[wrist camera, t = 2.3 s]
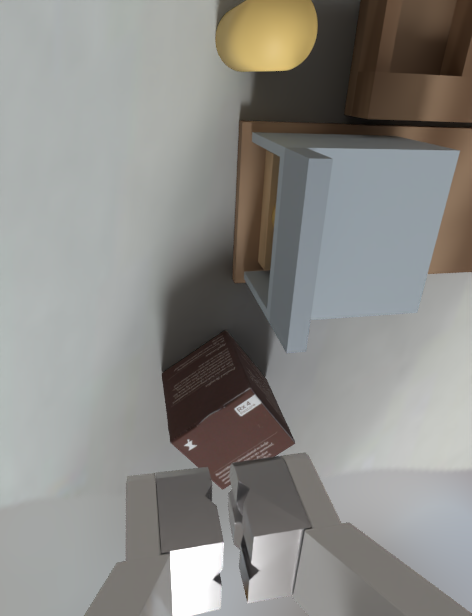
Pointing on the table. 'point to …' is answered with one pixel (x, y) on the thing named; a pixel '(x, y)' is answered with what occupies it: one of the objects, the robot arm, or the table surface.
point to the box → (222, 409)
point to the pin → (267, 35)
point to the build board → (412, 61)
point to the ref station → (265, 165)
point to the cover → (349, 228)
